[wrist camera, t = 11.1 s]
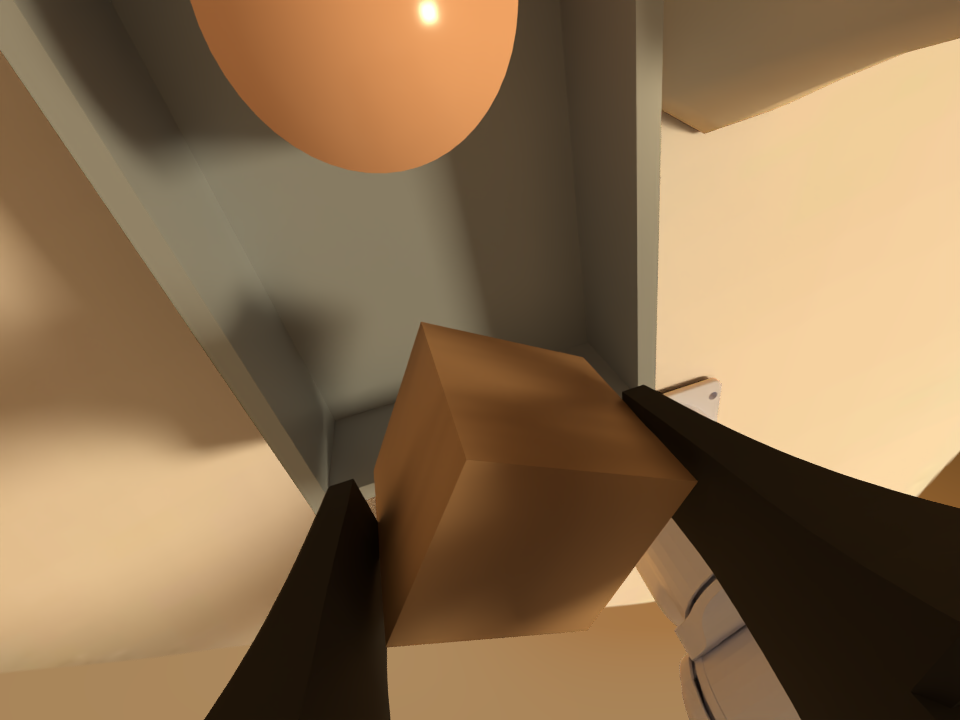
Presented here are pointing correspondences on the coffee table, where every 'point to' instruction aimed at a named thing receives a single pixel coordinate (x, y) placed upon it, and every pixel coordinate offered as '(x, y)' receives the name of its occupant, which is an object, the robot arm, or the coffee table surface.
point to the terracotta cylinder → (364, 72)
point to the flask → (783, 50)
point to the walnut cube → (511, 492)
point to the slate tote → (368, 212)
